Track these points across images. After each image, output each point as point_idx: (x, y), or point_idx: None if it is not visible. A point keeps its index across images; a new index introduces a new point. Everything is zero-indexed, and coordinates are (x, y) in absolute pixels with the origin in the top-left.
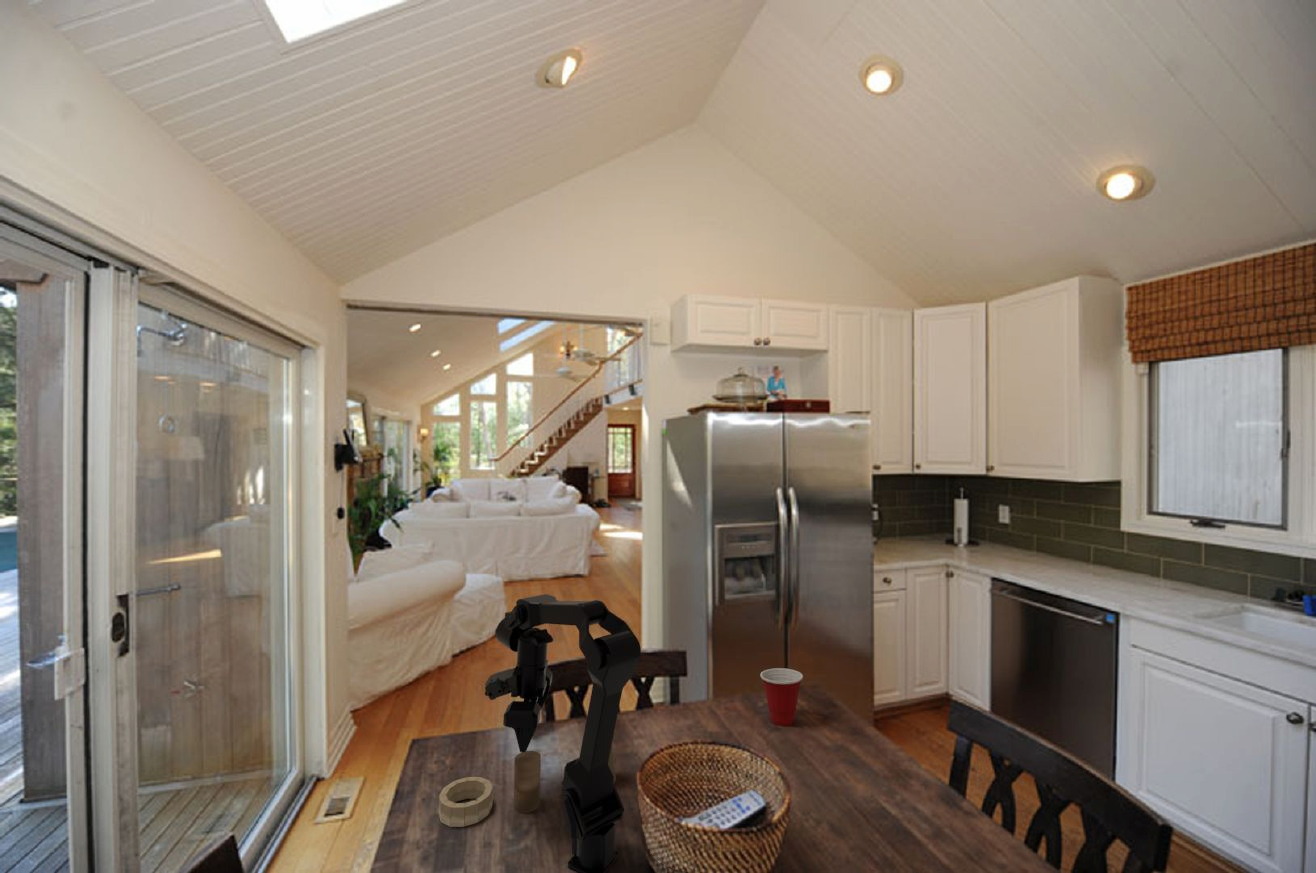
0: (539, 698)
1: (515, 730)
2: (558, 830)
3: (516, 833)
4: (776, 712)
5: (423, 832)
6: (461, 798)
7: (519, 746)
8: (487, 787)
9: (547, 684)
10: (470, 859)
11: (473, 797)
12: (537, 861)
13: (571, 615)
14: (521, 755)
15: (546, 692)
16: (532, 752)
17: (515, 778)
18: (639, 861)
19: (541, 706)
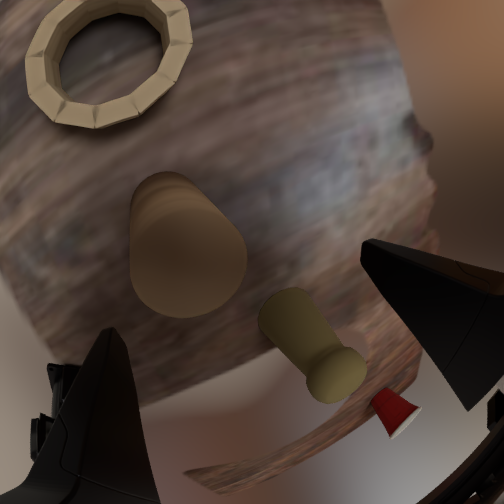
0: (462, 360)
1: (33, 477)
2: (108, 316)
3: (62, 241)
4: (380, 406)
5: (24, 26)
6: (151, 23)
7: (89, 359)
8: (135, 96)
9: (494, 422)
10: None
11: (163, 48)
12: (28, 318)
13: None
14: (201, 232)
15: (468, 401)
16: (234, 265)
17: (137, 214)
18: None
19: (424, 345)
